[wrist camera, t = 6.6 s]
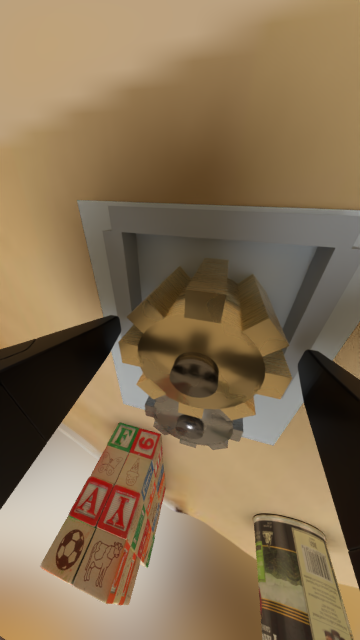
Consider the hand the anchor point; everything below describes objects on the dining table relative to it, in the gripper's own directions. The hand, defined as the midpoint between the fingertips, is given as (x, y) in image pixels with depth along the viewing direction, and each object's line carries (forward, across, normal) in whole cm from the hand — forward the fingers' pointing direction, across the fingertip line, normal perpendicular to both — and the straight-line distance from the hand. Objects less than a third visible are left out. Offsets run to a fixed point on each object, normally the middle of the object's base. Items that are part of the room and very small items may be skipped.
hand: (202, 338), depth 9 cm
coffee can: (+4, -17, +38) cm, 42 cm away
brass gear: (+2, 0, 0) cm, 3 cm away
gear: (+2, 0, +8) cm, 8 cm away
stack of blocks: (+4, +7, +30) cm, 31 cm away
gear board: (+4, 0, +4) cm, 5 cm away
